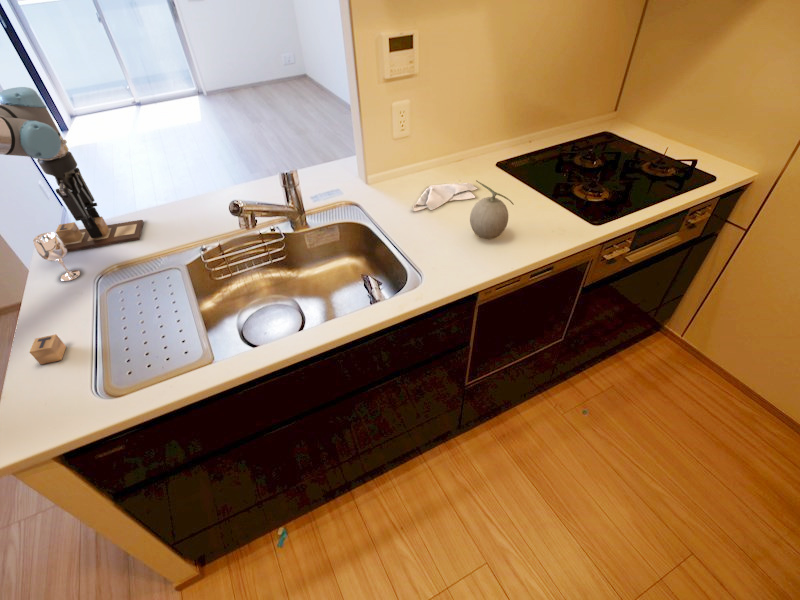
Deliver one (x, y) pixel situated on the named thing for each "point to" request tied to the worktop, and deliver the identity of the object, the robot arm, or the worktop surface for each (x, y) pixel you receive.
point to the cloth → (443, 195)
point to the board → (109, 236)
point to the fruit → (489, 216)
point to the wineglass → (54, 252)
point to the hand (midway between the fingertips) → (98, 232)
